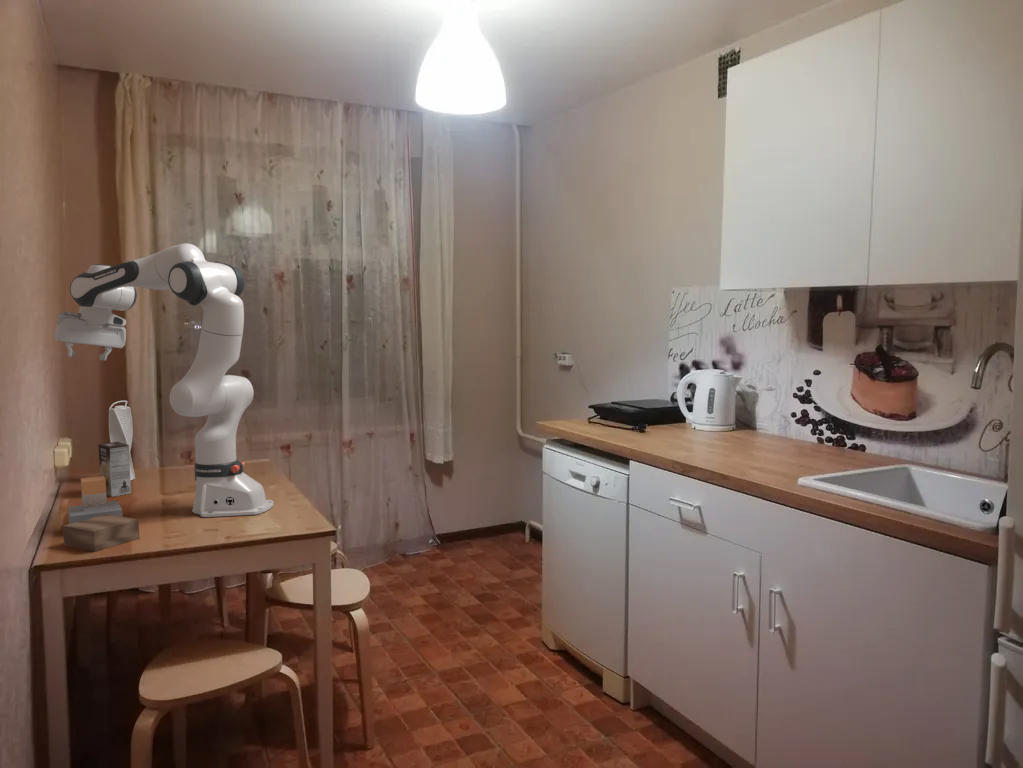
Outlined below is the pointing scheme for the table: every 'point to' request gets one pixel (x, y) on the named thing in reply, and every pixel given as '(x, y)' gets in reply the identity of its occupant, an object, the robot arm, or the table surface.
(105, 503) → the housing base
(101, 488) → the cover
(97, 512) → the stand
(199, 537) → the table surface
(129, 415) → the skyscraper
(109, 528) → the stand
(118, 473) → the coffee box
